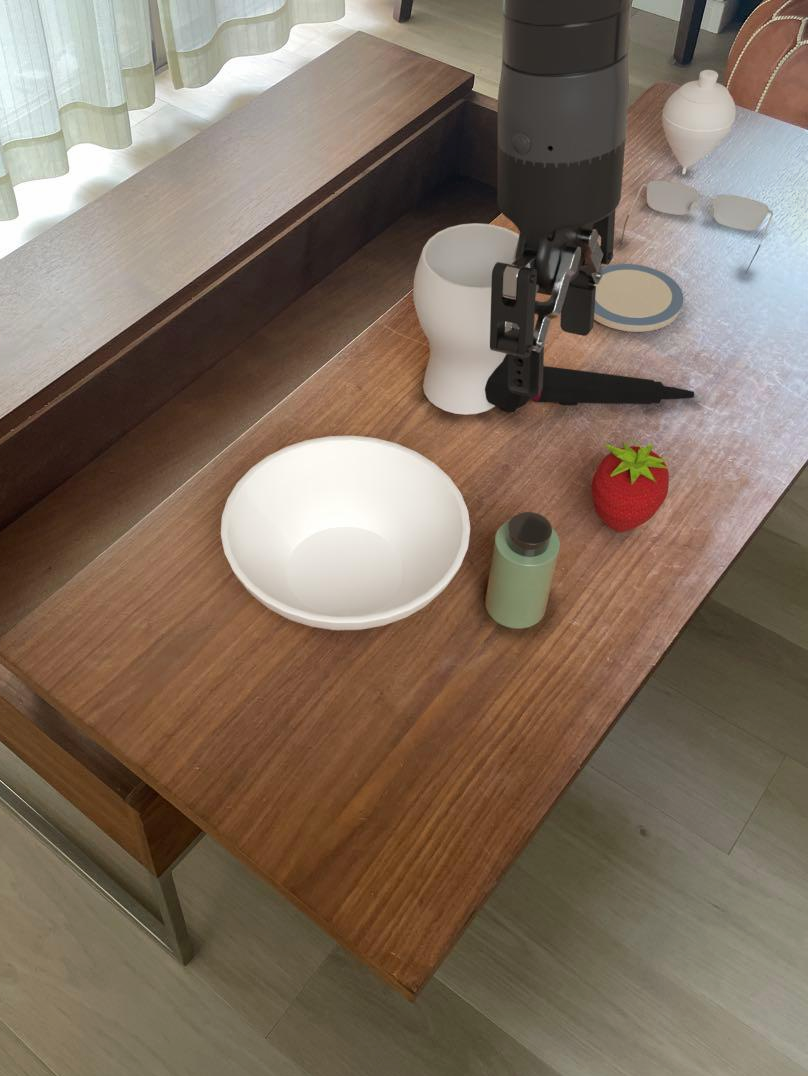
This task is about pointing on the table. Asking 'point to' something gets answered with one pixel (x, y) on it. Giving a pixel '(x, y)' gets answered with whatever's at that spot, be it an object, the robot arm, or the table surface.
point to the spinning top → (698, 118)
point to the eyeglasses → (724, 207)
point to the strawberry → (629, 486)
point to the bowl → (345, 532)
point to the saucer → (636, 298)
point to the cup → (460, 312)
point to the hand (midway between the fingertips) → (551, 361)
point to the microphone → (580, 389)
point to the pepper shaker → (522, 570)
